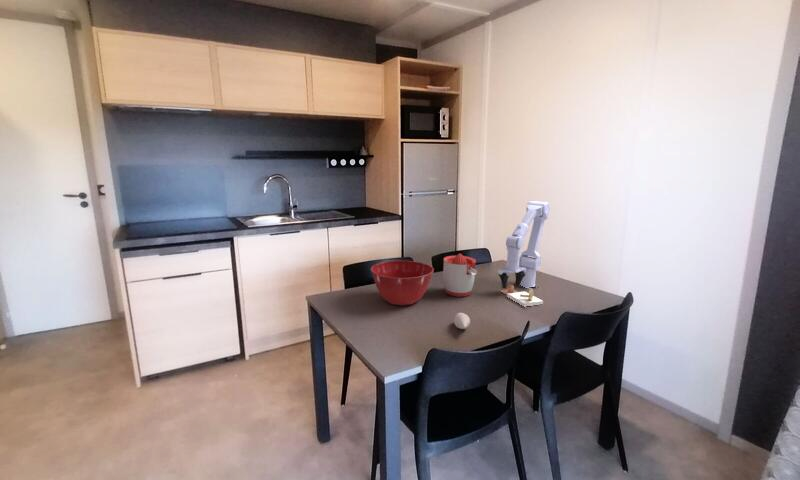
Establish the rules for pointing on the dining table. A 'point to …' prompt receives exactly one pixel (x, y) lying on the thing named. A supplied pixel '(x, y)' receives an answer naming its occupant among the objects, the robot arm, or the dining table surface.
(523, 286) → the robot arm
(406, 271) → the mixing bowl
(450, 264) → the citrus juicer
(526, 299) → the latch box
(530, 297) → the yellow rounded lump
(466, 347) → the dining table surface
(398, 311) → the dining table surface
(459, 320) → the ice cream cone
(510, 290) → the cover
